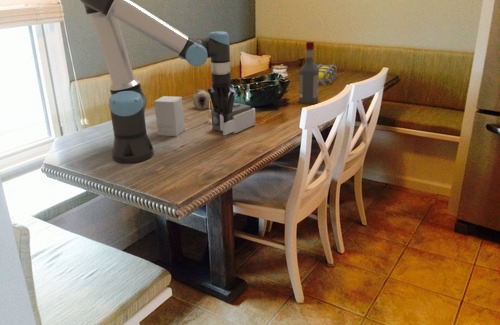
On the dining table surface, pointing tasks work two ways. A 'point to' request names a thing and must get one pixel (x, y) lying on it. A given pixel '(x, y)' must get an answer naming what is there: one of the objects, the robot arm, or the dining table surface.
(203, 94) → the garlic bulb
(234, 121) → the side door
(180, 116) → the supplement box
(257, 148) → the dining table surface
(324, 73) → the cage light
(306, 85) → the liquor
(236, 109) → the camera case
